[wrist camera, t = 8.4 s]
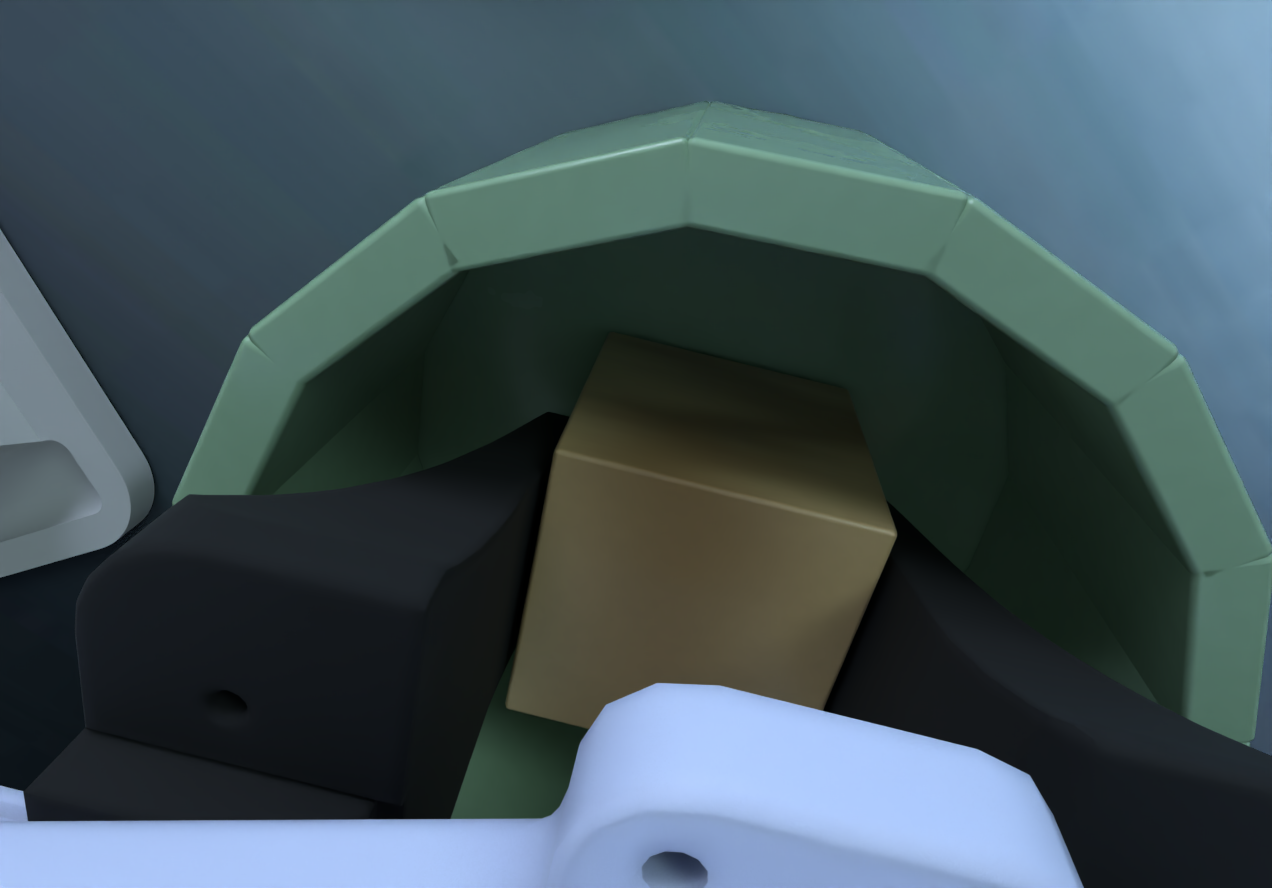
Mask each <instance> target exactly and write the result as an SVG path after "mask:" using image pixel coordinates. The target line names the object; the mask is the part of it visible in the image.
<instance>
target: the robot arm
mask: <svg viewBox="0 0 1272 888" xmlns="http://www.w3.org/2000/svg"><path fill="white" fill-rule="evenodd" d="M568 420H569V416H565V415H561V414H557V413H553V412H546V413H544V414H542V415H540V416H539V417H537V418H535V419H533V420H531V421H530V422H528V423H526V424H524V425H523V426H521V427H519V428H517V429H515V430H514V431H512V432H510V433H508V434H506V435H505V436H503V437H501V438H499V439H497V440H495V441H493V442H491V443H489V444H487V445H485V446H483V447H480V448H478V449H476V450H473V451H471V452H469V453H467V454H464V455H462V456H460V457H458V458H455V459H453V460H451V461H448V462H445V463H443V464H440V465H437V466H434V467H431V468H428V469H425V470H422V471H419V472H415V473H412V474H408V475H405V476H401V477H397V478H393V479H389V480H384V481H379V482H373V483H368V484H363V485H358V486H353V487H347V488H341V489H334V490H325V491H316V492H306V493H293V494H277V495H198V494H189V495H187V496H186V497H184V498H183V499H181V500H180V501H179V502H177V503H176V504H175V505H173V506H172V507H171V508H169V509H168V510H167V511H165V512H164V513H163V514H162V515H160V516H159V517H158V518H156V519H155V520H154V521H153V522H151V523H150V524H149V525H148V526H146V527H145V528H144V529H143V530H141V531H140V532H139V533H138V534H137V535H135V536H134V537H133V538H132V539H130V540H129V541H128V542H127V543H125V544H124V545H123V546H122V547H120V548H119V549H118V550H117V551H115V552H114V553H113V554H112V555H110V556H109V557H108V558H107V559H106V560H105V561H104V562H103V563H102V564H101V565H99V566H98V567H97V568H96V569H95V570H94V571H93V572H92V573H91V574H90V575H89V576H88V577H87V579H86V581H85V583H84V586H83V588H82V590H81V592H80V594H79V596H78V599H77V601H76V615H75V637H76V646H77V655H78V664H79V673H80V682H81V691H82V700H83V709H84V718H85V726H86V728H85V729H84V730H83V731H82V732H81V733H80V734H79V735H78V736H77V737H76V738H75V739H74V740H73V741H72V742H71V743H70V744H69V745H68V746H67V747H66V748H65V749H64V750H63V752H62V753H61V754H60V755H59V756H58V757H57V758H56V759H55V760H54V761H53V762H52V763H51V764H50V765H49V766H48V767H47V768H46V769H45V770H44V771H43V772H42V773H41V774H40V775H39V776H38V777H37V778H36V779H35V780H34V781H33V782H32V783H31V785H30V786H29V787H28V788H27V789H26V790H25V791H20V790H16V789H12V788H8V787H4V786H0V888H1272V756H1270V755H1268V754H1265V753H1263V752H1261V751H1259V750H1256V749H1254V748H1252V747H1249V746H1247V745H1245V744H1242V743H1240V742H1238V741H1235V740H1233V739H1231V738H1228V737H1226V736H1224V735H1222V734H1219V733H1217V732H1215V731H1212V730H1210V729H1208V728H1205V727H1203V726H1201V725H1199V724H1197V723H1195V722H1193V721H1191V720H1189V719H1187V718H1185V717H1183V716H1181V715H1179V714H1177V713H1175V712H1173V711H1171V710H1169V709H1167V708H1165V707H1163V706H1161V705H1159V704H1157V703H1155V702H1153V701H1151V700H1149V699H1147V698H1145V697H1144V696H1142V695H1140V694H1138V693H1136V692H1134V691H1133V690H1131V689H1129V688H1127V687H1125V686H1123V685H1122V684H1120V683H1118V682H1116V681H1114V680H1113V679H1111V678H1109V677H1108V676H1106V675H1104V674H1103V673H1101V672H1099V671H1098V670H1096V669H1094V668H1093V667H1091V666H1090V665H1088V664H1086V663H1085V662H1083V661H1081V660H1080V659H1078V658H1076V657H1075V656H1073V655H1071V654H1070V653H1068V652H1067V651H1065V650H1064V649H1062V648H1061V647H1059V646H1058V645H1056V644H1055V643H1053V642H1051V641H1050V640H1049V639H1047V638H1046V637H1044V636H1043V635H1041V634H1040V633H1039V632H1037V631H1036V630H1035V629H1033V628H1032V627H1030V626H1029V625H1028V624H1026V623H1025V622H1023V621H1022V620H1021V619H1019V618H1018V617H1017V616H1015V615H1014V614H1012V613H1011V612H1010V611H1009V610H1007V609H1006V608H1005V607H1003V606H1002V605H1001V604H1000V603H998V602H997V601H996V600H995V599H993V598H992V597H991V596H990V595H989V594H987V593H986V592H985V591H984V590H983V589H982V588H980V587H979V586H978V585H977V584H976V583H975V582H973V581H972V580H971V579H970V578H969V577H968V576H966V575H965V574H964V573H963V572H962V571H961V570H960V569H959V568H958V567H956V566H955V565H954V564H953V563H952V562H951V561H950V560H949V559H948V558H947V557H946V556H945V555H943V554H942V553H941V552H940V551H939V550H938V549H937V548H936V547H935V546H934V545H933V544H932V543H931V542H930V541H929V540H928V539H927V538H926V537H925V536H924V535H923V534H922V533H921V532H920V531H919V530H918V529H917V528H915V527H914V526H913V525H912V524H911V523H910V522H909V521H908V520H907V519H906V518H905V517H904V516H903V515H902V514H901V513H900V512H899V511H898V510H897V509H896V508H895V507H894V506H893V505H891V504H890V503H889V502H888V501H887V500H886V501H887V504H888V507H889V510H890V513H891V516H892V519H893V522H894V525H895V528H896V531H897V538H896V540H895V542H894V545H893V547H892V549H891V552H890V554H889V556H888V559H887V561H886V563H885V566H884V568H883V570H882V573H881V575H880V578H879V580H878V582H877V585H876V587H875V589H874V592H873V594H872V596H871V599H870V601H869V603H868V606H867V608H866V610H865V613H864V615H863V618H862V620H861V622H860V625H859V627H858V629H857V632H856V634H855V636H854V639H853V641H852V643H851V646H850V648H849V650H848V653H847V655H846V658H845V660H844V662H843V665H842V667H841V669H840V672H839V674H838V676H837V679H836V681H835V683H834V686H833V688H832V690H831V693H830V695H829V698H828V700H827V702H826V705H825V707H824V709H823V711H821V710H817V709H813V708H809V707H805V706H801V705H797V704H793V703H789V702H785V701H781V700H777V699H772V698H768V697H764V696H760V695H756V694H752V693H748V692H744V691H740V690H736V689H732V688H728V687H724V686H720V685H696V684H670V683H656V684H653V685H651V686H649V687H646V688H644V689H642V690H639V691H637V692H635V693H632V694H630V695H628V696H625V697H623V698H620V699H618V700H616V701H613V702H611V703H609V704H606V705H605V707H604V708H603V710H602V711H601V712H600V714H599V715H598V717H597V718H596V720H595V721H594V723H593V724H592V726H591V727H590V729H589V730H588V732H587V733H586V735H585V736H584V737H583V739H582V740H581V742H580V744H579V748H578V752H577V756H576V760H575V764H574V768H573V772H572V775H571V779H570V783H569V787H568V790H567V792H566V794H565V796H564V798H563V801H562V803H561V805H560V807H559V808H558V809H557V810H556V811H555V812H554V813H553V814H552V815H550V816H547V817H545V818H542V819H451V816H452V813H453V810H454V807H455V804H456V801H457V798H458V795H459V792H460V789H461V786H462V783H463V780H464V777H465V774H466V771H467V768H468V765H469V762H470V759H471V757H472V754H473V751H474V748H475V745H476V742H477V739H478V736H479V733H480V730H481V728H482V725H483V722H484V719H485V716H486V713H487V710H488V707H489V705H490V702H491V700H492V698H493V695H494V693H495V690H496V688H497V686H498V683H499V681H500V679H501V677H502V675H503V673H504V671H505V668H506V666H507V664H508V662H509V660H510V658H511V656H512V654H513V652H514V649H515V647H516V644H517V638H518V633H519V628H520V623H521V618H522V613H523V608H524V602H525V597H526V592H527V587H528V582H529V577H530V571H531V566H532V561H533V556H534V551H535V546H536V540H537V535H538V530H539V525H540V520H541V515H542V509H543V504H544V499H545V494H546V489H547V484H548V478H549V473H550V468H551V463H552V458H553V453H554V450H555V448H556V446H557V443H558V441H559V439H560V437H561V435H562V433H563V430H564V428H565V426H566V424H567V422H568Z"/></svg>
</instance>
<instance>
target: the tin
mask: <svg viewBox="0 0 1272 888" xmlns="http://www.w3.org/2000/svg"><path fill="white" fill-rule="evenodd" d="M609 332H615V333H619V334H623V335H628V336H632V337H636V338H640V339H644V340H648V341H652V342H656V343H660V344H664V345H668V346H673V347H677V348H681V349H685V350H689V351H693V352H697V353H701V354H705V355H709V356H713V357H717V358H722V359H726V360H730V361H734V362H738V363H742V364H746V365H750V366H754V367H758V368H762V369H766V370H771V371H775V372H779V373H783V374H787V375H791V376H795V377H799V378H803V379H807V380H811V381H815V382H820V383H824V384H828V385H832V386H836V387H840V388H844V389H847V390H848V391H849V393H850V396H851V398H852V401H853V404H854V407H855V410H856V413H857V416H858V419H859V422H860V425H861V428H862V431H863V434H864V437H865V440H866V443H867V446H868V448H869V451H870V454H871V457H872V460H873V463H874V466H875V469H876V472H877V475H878V478H879V481H880V484H881V487H882V490H883V493H884V495H885V498H886V500H887V501H888V502H889V503H890V504H891V505H893V506H894V507H895V508H896V509H897V510H898V511H899V512H900V513H901V514H902V515H903V516H904V517H905V518H906V519H907V520H908V521H909V522H910V523H911V524H912V525H913V526H914V527H915V528H917V529H918V530H919V531H920V532H921V533H922V534H923V535H924V536H925V537H926V538H927V539H928V540H929V541H930V542H931V543H932V544H933V545H934V546H935V547H936V548H937V549H938V550H939V551H940V552H941V553H942V554H943V555H945V556H946V557H947V558H948V559H949V560H950V561H951V562H952V563H953V564H954V565H955V566H956V567H958V568H959V569H960V570H961V571H962V572H963V573H964V574H965V575H966V576H968V577H969V578H970V579H971V580H972V581H973V582H975V583H976V584H977V585H978V586H979V587H980V588H982V589H983V590H984V591H985V592H986V593H987V594H989V595H990V596H991V597H992V598H993V599H995V600H996V601H997V602H998V603H1000V604H1001V605H1002V606H1003V607H1005V608H1006V609H1007V610H1009V611H1010V612H1011V613H1012V614H1014V615H1015V616H1017V617H1018V618H1019V619H1021V620H1022V621H1023V622H1025V623H1026V624H1028V625H1029V626H1030V627H1032V628H1033V629H1035V630H1036V631H1037V632H1039V633H1040V634H1041V635H1043V636H1044V637H1046V638H1047V639H1049V640H1050V641H1051V642H1053V643H1055V644H1056V645H1058V646H1059V647H1061V648H1062V649H1064V650H1065V651H1067V652H1068V653H1070V654H1071V655H1073V656H1075V657H1076V658H1078V659H1080V660H1081V661H1083V662H1085V663H1086V664H1088V665H1090V666H1091V667H1093V668H1094V669H1096V670H1098V671H1099V672H1101V673H1103V674H1104V675H1106V676H1108V677H1109V678H1111V679H1113V680H1114V681H1116V682H1118V683H1120V684H1122V685H1123V686H1125V687H1127V688H1129V689H1131V690H1133V691H1134V692H1136V693H1138V694H1140V695H1142V696H1144V697H1145V698H1147V699H1149V700H1151V701H1153V702H1155V703H1157V704H1159V705H1161V706H1163V707H1165V708H1167V709H1169V710H1171V711H1173V712H1175V713H1177V714H1179V715H1181V716H1183V717H1185V718H1187V719H1189V720H1191V721H1193V722H1195V723H1197V724H1199V725H1201V726H1203V727H1205V728H1208V729H1210V730H1212V731H1215V732H1217V733H1219V734H1222V735H1224V736H1226V737H1228V738H1231V739H1233V740H1235V741H1238V742H1240V743H1242V744H1245V745H1247V746H1249V747H1250V741H1252V740H1253V739H1254V738H1255V729H1256V721H1257V712H1258V704H1259V695H1260V687H1261V678H1262V669H1263V661H1264V652H1265V644H1266V635H1267V627H1268V618H1269V609H1270V601H1271V592H1272V545H1271V542H1270V540H1269V538H1268V536H1267V533H1266V531H1265V529H1264V527H1263V525H1262V523H1261V520H1260V518H1259V516H1258V514H1257V512H1256V510H1255V507H1254V505H1253V503H1252V501H1251V499H1250V496H1249V494H1248V492H1247V490H1246V488H1245V486H1244V483H1243V481H1242V479H1241V477H1240V475H1239V473H1238V470H1237V468H1236V466H1235V464H1234V462H1233V460H1232V457H1231V455H1230V453H1229V451H1228V449H1227V446H1226V444H1225V442H1224V440H1223V438H1222V436H1221V433H1220V431H1219V429H1218V427H1217V425H1216V423H1215V420H1214V418H1213V416H1212V414H1211V412H1210V410H1209V407H1208V405H1207V403H1206V401H1205V399H1204V397H1203V394H1202V392H1201V390H1200V388H1199V386H1198V383H1197V381H1196V379H1195V377H1194V375H1193V373H1192V370H1191V368H1190V366H1189V364H1188V362H1187V360H1186V358H1185V357H1183V356H1182V355H1180V354H1179V352H1178V350H1177V348H1176V345H1175V344H1173V343H1172V342H1170V341H1169V340H1168V339H1166V338H1165V337H1164V336H1162V335H1161V334H1160V333H1158V332H1157V331H1156V330H1154V329H1153V328H1152V327H1150V326H1149V325H1148V324H1146V323H1145V322H1144V321H1142V320H1141V319H1139V318H1138V317H1137V316H1135V315H1134V314H1133V313H1131V312H1130V311H1129V310H1127V309H1126V308H1125V307H1123V306H1122V305H1121V304H1119V303H1118V302H1117V301H1115V300H1114V299H1113V298H1111V297H1110V296H1108V295H1107V294H1106V293H1104V292H1103V291H1102V290H1100V289H1099V288H1098V287H1096V286H1095V285H1094V284H1092V283H1091V282H1090V281H1088V280H1087V279H1086V278H1084V277H1083V276H1082V275H1080V274H1079V273H1077V272H1076V271H1075V270H1073V269H1072V268H1071V267H1069V266H1068V265H1067V264H1065V263H1064V262H1063V261H1061V260H1060V259H1059V258H1057V257H1056V256H1055V255H1053V254H1052V253H1051V252H1049V251H1048V250H1046V249H1045V248H1044V247H1042V246H1041V245H1040V244H1038V243H1037V242H1036V241H1034V240H1033V239H1032V238H1030V237H1029V236H1028V235H1026V234H1025V233H1024V232H1022V231H1021V230H1020V229H1018V228H1017V227H1015V226H1014V225H1013V224H1011V223H1010V222H1009V221H1007V220H1006V219H1005V218H1003V217H1002V216H1001V215H999V214H998V213H997V212H995V211H994V210H993V209H991V208H990V207H988V206H987V205H986V204H984V203H983V202H982V201H980V200H979V199H978V198H976V197H974V196H973V195H971V194H969V193H967V192H966V191H964V190H962V189H961V188H959V187H957V186H955V185H954V184H952V183H950V182H949V181H947V180H945V179H944V178H942V177H940V176H938V175H937V174H935V173H933V172H932V171H930V170H928V169H926V168H925V167H923V166H921V165H920V164H918V163H916V162H915V161H913V160H911V159H909V158H908V157H906V156H904V155H903V154H901V153H899V152H898V151H896V150H894V149H892V148H891V147H889V146H887V145H886V144H884V143H882V142H880V141H879V140H877V139H875V138H874V137H872V136H870V135H867V134H865V133H863V132H861V131H858V130H853V129H848V128H843V127H839V126H834V125H829V124H824V123H819V122H814V121H809V120H805V119H801V118H797V117H794V116H790V115H787V114H780V113H773V112H765V111H760V110H755V109H750V108H745V107H740V106H736V105H731V104H726V103H721V102H716V101H713V102H710V103H709V102H707V101H704V102H699V103H695V104H691V105H686V106H682V107H677V108H673V109H668V110H664V111H660V112H655V113H650V114H644V115H637V116H633V117H630V118H627V119H623V120H620V121H615V122H611V123H606V124H602V125H597V126H593V127H589V128H584V129H580V130H575V131H571V132H566V133H562V134H560V135H558V136H555V137H553V138H551V139H549V140H546V141H544V142H542V143H539V144H537V145H535V146H533V147H530V148H528V149H526V150H523V151H521V152H519V153H517V154H514V155H512V156H510V157H507V158H505V159H503V160H501V161H498V162H496V163H494V164H492V165H489V166H487V167H485V168H482V169H480V170H478V171H476V172H473V173H471V174H469V175H466V176H464V177H462V178H460V179H457V180H455V181H453V182H450V183H448V184H446V185H444V186H441V187H439V188H437V189H434V190H432V191H430V192H428V193H427V194H426V195H423V196H421V197H419V198H417V199H415V200H414V201H413V202H411V203H410V204H409V205H407V206H406V207H405V208H404V209H402V210H401V211H400V212H399V213H397V214H396V215H395V216H393V217H392V218H391V219H390V220H388V221H387V222H386V223H384V224H383V225H382V226H381V227H379V228H378V229H377V230H376V231H374V232H373V233H372V234H370V235H369V236H368V237H367V238H365V239H364V240H363V241H362V242H360V243H359V244H358V245H356V246H355V247H354V248H353V249H351V250H350V251H349V252H347V253H346V254H345V255H344V256H342V257H341V258H340V259H339V260H337V261H336V262H335V263H333V264H332V265H331V266H330V267H328V268H327V269H326V270H324V271H323V272H322V273H321V274H319V275H318V276H317V277H316V278H314V279H313V280H312V281H310V282H309V283H308V284H307V285H305V286H304V287H303V288H302V289H300V290H299V291H298V292H296V293H295V294H294V295H293V296H291V297H290V298H289V299H287V300H286V301H285V302H284V303H282V304H281V305H280V306H279V307H277V308H276V309H275V310H273V311H272V312H271V313H270V314H268V315H267V316H266V317H264V318H263V319H262V320H261V321H259V322H258V323H257V324H256V325H254V326H253V327H252V328H251V330H250V332H249V334H248V336H246V337H245V338H244V339H242V342H241V344H240V346H239V348H238V351H237V353H236V355H235V358H234V360H233V362H232V365H231V367H230V369H229V371H228V374H227V376H226V378H225V381H224V383H223V385H222V388H221V390H220V392H219V394H218V397H217V399H216V401H215V404H214V406H213V408H212V411H211V413H210V415H209V417H208V420H207V422H206V424H205V427H204V429H203V431H202V434H201V436H200V438H199V440H198V443H197V445H196V447H195V450H194V452H193V454H192V457H191V459H190V461H189V463H188V466H187V468H186V470H185V473H184V475H183V477H182V480H181V482H180V484H179V486H178V489H177V491H176V493H175V496H174V498H173V501H172V505H175V504H176V503H177V502H179V501H180V500H181V499H183V498H184V497H186V496H187V495H189V494H198V495H277V494H293V493H306V492H316V491H325V490H334V489H341V488H347V487H353V486H358V485H363V484H368V483H373V482H379V481H384V480H389V479H393V478H397V477H401V476H405V475H408V474H412V473H415V472H419V471H422V470H425V469H428V468H431V467H434V466H437V465H440V464H443V463H445V462H448V461H451V460H453V459H455V458H458V457H460V456H462V455H464V454H467V453H469V452H471V451H473V450H476V449H478V448H480V447H483V446H485V445H487V444H489V443H491V442H493V441H495V440H497V439H499V438H501V437H503V436H505V435H506V434H508V433H510V432H512V431H514V430H515V429H517V428H519V427H521V426H523V425H524V424H526V423H528V422H530V421H531V420H533V419H535V418H537V417H539V416H540V415H542V414H544V413H546V412H553V413H557V414H561V415H565V416H569V417H570V415H571V413H572V411H573V409H574V407H575V404H576V402H577V400H578V398H579V396H580V394H581V391H582V389H583V387H584V385H585V383H586V380H587V378H588V376H589V374H590V372H591V370H592V367H593V365H594V363H595V361H596V359H597V357H598V354H599V352H600V350H601V348H602V346H603V344H604V341H605V339H606V337H607V335H608V334H609ZM515 649H516V647H515ZM515 649H514V652H513V654H512V656H511V658H510V660H509V662H508V664H507V666H506V668H505V671H504V673H503V675H502V677H501V679H500V681H499V683H498V686H497V688H496V690H495V693H494V695H493V698H492V700H491V702H490V705H489V707H488V710H487V713H486V716H485V719H484V722H483V725H482V728H481V730H480V733H479V736H478V739H477V742H476V745H475V748H474V751H473V754H472V757H471V759H470V762H469V765H468V768H467V771H466V774H465V777H464V780H463V783H462V786H461V789H460V792H459V795H458V798H457V801H456V804H455V807H454V810H453V813H452V816H451V819H542V818H545V817H547V816H550V815H552V814H553V813H554V812H555V811H556V810H557V809H558V808H559V807H560V805H561V803H562V801H563V798H564V796H565V794H566V792H567V790H568V787H569V783H570V779H571V775H572V772H573V768H574V764H575V760H576V756H577V752H578V748H579V744H580V742H581V740H582V739H583V737H584V736H585V735H586V733H587V732H588V730H589V729H586V728H582V727H578V726H574V725H570V724H566V723H562V722H558V721H554V720H550V719H546V718H542V717H538V716H534V715H530V714H526V713H521V712H517V711H513V710H509V709H507V708H506V705H505V700H506V695H507V690H508V685H509V680H510V675H511V669H512V664H513V659H514V654H515Z"/></svg>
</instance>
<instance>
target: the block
mask: <svg viewBox="0 0 1272 888" xmlns="http://www.w3.org/2000/svg"><path fill="white" fill-rule="evenodd" d="M896 538H897V531H896V528H895V525H894V522H893V519H892V516H891V513H890V510H889V507H888V504H887V501H886V498H885V495H884V493H883V490H882V487H881V484H880V481H879V478H878V475H877V472H876V469H875V466H874V463H873V460H872V457H871V454H870V451H869V448H868V446H867V443H866V440H865V437H864V434H863V431H862V428H861V425H860V422H859V419H858V416H857V413H856V410H855V407H854V404H853V401H852V398H851V396H850V393H849V391H848V390H847V389H844V388H840V387H836V386H832V385H828V384H824V383H820V382H815V381H811V380H807V379H803V378H799V377H795V376H791V375H787V374H783V373H779V372H775V371H771V370H766V369H762V368H758V367H754V366H750V365H746V364H742V363H738V362H734V361H730V360H726V359H722V358H717V357H713V356H709V355H705V354H701V353H697V352H693V351H689V350H685V349H681V348H677V347H673V346H668V345H664V344H660V343H656V342H652V341H648V340H644V339H640V338H636V337H632V336H628V335H623V334H619V333H615V332H609V334H608V335H607V337H606V339H605V341H604V344H603V346H602V348H601V350H600V352H599V354H598V357H597V359H596V361H595V363H594V365H593V367H592V370H591V372H590V374H589V376H588V378H587V380H586V383H585V385H584V387H583V389H582V391H581V394H580V396H579V398H578V400H577V402H576V404H575V407H574V409H573V411H572V413H571V415H570V417H569V420H568V422H567V424H566V426H565V428H564V430H563V433H562V435H561V437H560V439H559V441H558V443H557V446H556V448H555V450H554V453H553V458H552V463H551V468H550V473H549V478H548V484H547V489H546V494H545V499H544V504H543V509H542V515H541V520H540V525H539V530H538V535H537V540H536V546H535V551H534V556H533V561H532V566H531V571H530V577H529V582H528V587H527V592H526V597H525V602H524V608H523V613H522V618H521V623H520V628H519V633H518V638H517V644H516V649H515V654H514V659H513V664H512V669H511V675H510V680H509V685H508V690H507V695H506V700H505V705H506V708H507V709H509V710H513V711H517V712H521V713H526V714H530V715H534V716H538V717H542V718H546V719H550V720H554V721H558V722H562V723H566V724H570V725H574V726H578V727H582V728H586V729H590V727H591V726H592V724H593V723H594V721H595V720H596V718H597V717H598V715H599V714H600V712H601V711H602V710H603V708H604V707H605V705H606V704H609V703H611V702H613V701H616V700H618V699H620V698H623V697H625V696H628V695H630V694H632V693H635V692H637V691H639V690H642V689H644V688H646V687H649V686H651V685H653V684H656V683H670V684H696V685H720V686H724V687H728V688H732V689H736V690H740V691H744V692H748V693H752V694H756V695H760V696H764V697H768V698H772V699H777V700H781V701H785V702H789V703H793V704H797V705H801V706H805V707H809V708H813V709H817V710H821V711H823V709H824V707H825V705H826V702H827V700H828V698H829V695H830V693H831V690H832V688H833V686H834V683H835V681H836V679H837V676H838V674H839V672H840V669H841V667H842V665H843V662H844V660H845V658H846V655H847V653H848V650H849V648H850V646H851V643H852V641H853V639H854V636H855V634H856V632H857V629H858V627H859V625H860V622H861V620H862V618H863V615H864V613H865V610H866V608H867V606H868V603H869V601H870V599H871V596H872V594H873V592H874V589H875V587H876V585H877V582H878V580H879V578H880V575H881V573H882V570H883V568H884V566H885V563H886V561H887V559H888V556H889V554H890V552H891V549H892V547H893V545H894V542H895V540H896Z"/></svg>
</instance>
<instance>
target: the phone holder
mask: <svg viewBox="0 0 1272 888" xmlns="http://www.w3.org/2000/svg"><path fill="white" fill-rule="evenodd" d="M153 500H154V480H153V476H152V472H151V469H150V467H149V464H148V462H147V460H146V458H145V456H144V455H143V453H142V451H141V450H140V448H139V446H138V445H137V443H136V442H135V440H134V439H133V437H132V435H131V434H130V432H129V431H128V429H127V428H126V426H125V424H124V423H123V421H122V420H121V418H120V417H119V415H118V413H117V412H116V410H115V409H114V407H113V406H112V404H111V402H110V401H109V399H108V398H107V396H106V395H105V393H104V391H103V390H102V388H101V387H100V385H99V384H98V382H97V380H96V379H95V377H94V376H93V374H92V373H91V371H90V369H89V368H88V366H87V365H86V363H85V362H84V360H83V358H82V357H81V355H80V354H79V352H78V351H77V349H76V347H75V346H74V344H73V343H72V341H71V340H70V338H69V336H68V335H67V333H66V332H65V330H64V329H63V327H62V325H61V324H60V322H59V321H58V319H57V318H56V316H55V314H54V313H53V311H52V310H51V308H50V307H49V305H48V303H47V302H46V300H45V299H44V297H43V296H42V294H41V292H40V291H39V289H38V288H37V286H36V285H35V283H34V281H33V280H32V278H31V277H30V275H29V274H28V272H27V270H26V269H25V267H24V266H23V264H22V263H21V261H20V259H19V258H18V256H17V255H16V253H15V252H14V250H13V248H12V247H11V245H10V244H9V242H8V241H7V239H6V237H5V236H4V234H3V233H2V231H1V230H0V578H1V577H4V576H8V575H11V574H15V573H18V572H21V571H25V570H28V569H32V568H35V567H39V566H42V565H46V564H49V563H53V562H56V561H60V560H63V559H66V558H70V557H73V556H77V555H80V554H84V553H87V552H91V551H94V550H98V549H101V548H104V547H106V546H109V545H110V544H112V543H114V542H115V541H117V540H118V539H119V538H120V537H122V536H123V535H124V534H126V533H127V532H128V531H129V530H131V529H132V528H133V527H135V526H136V525H137V524H138V523H140V522H141V521H142V520H143V519H144V518H145V517H146V516H147V514H148V513H149V511H150V509H151V507H152V504H153Z"/></svg>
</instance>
